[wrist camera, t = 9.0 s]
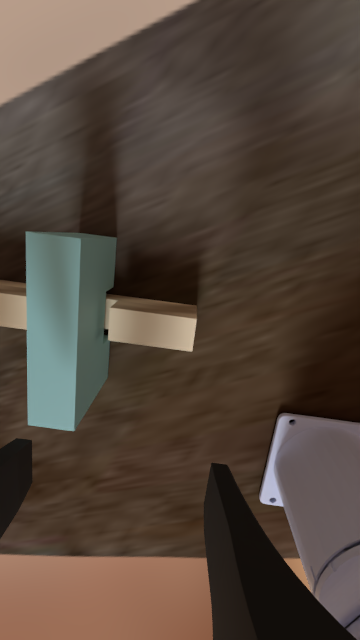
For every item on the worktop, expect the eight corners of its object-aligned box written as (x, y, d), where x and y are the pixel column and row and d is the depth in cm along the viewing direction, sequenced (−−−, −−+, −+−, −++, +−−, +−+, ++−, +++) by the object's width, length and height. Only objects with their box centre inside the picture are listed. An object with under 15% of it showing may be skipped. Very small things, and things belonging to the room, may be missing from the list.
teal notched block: (116, 237, 20) (80, 238, 14) (107, 377, 23) (74, 431, 16) (78, 232, 20) (25, 231, 14) (74, 372, 23) (28, 424, 16)
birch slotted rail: (196, 305, 21) (196, 318, 18) (192, 333, 21) (192, 351, 18) (-7, 278, 21) (-45, 287, 18) (-6, 307, 22) (-43, 320, 18)
